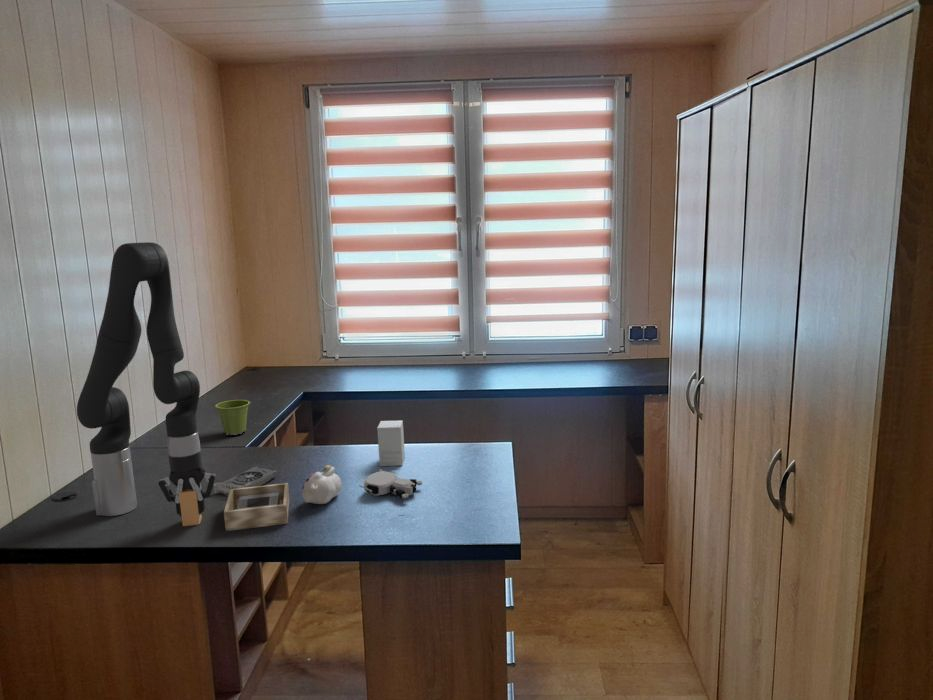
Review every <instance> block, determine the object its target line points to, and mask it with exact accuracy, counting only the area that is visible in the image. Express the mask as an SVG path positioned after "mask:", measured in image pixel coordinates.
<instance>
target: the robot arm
mask: <svg viewBox="0 0 933 700" xmlns="http://www.w3.org/2000/svg"><path fill="white" fill-rule="evenodd" d="M111 261H112V263H111V267H110V275H109V283H108V292H107V297H106V302H105V306H104V307H105V308H104V313H103V316H102V320H101V323H100V327H99V331H98V335H97V339H96V343H95V349H94V352H93V355H92V361H91V363H90V366H89V370H88V373H87V376H86V380H85V381H84V384H83V387H82V389H81V392H80V395H79V397H78V400H77V404H76V415H77V419H78V421H79V423H80V424H81V425H82V427H84V428H87V429H98V428H100V430H99V432H97V434H96V435H95V436H94V437H93V438H91V440H90V441H89V451H90V458H91V465H92V473H93V478H94V479H93V480H92V482H91V486H92V492H93V501H94V506H95V513H96V516H103V517H115V516H120V515H124V514H128V513H129V512H131V511H134V510H135V509H136V508H137V507H138V502H137V493H136V485H135V478H134V469H133V463H132V462H133V461H132V454H131V447H130V438H131V435H132V429H131V428H132V427H131V416H130V413H131V412H130V406H129V405H130V404H129V401H128V398H127V396H126V393H124V392H123V391H122V390H121V389H120V388H118V387H114V384H115V382H116V381H117V379H118V378H119V377H120V376H121V374H122V373H123V372H124V371H125V369H126V368H127V367H128V366H129V364H130V363H131V362H132V361H133V359H134V357H135V356H136V352H137V351H138V347H139V343H140V339H141V336H142V325H141V320H140V318H139V315H138V313H137V310H136V307H135V297H136V293H137V289H138V286H139V284H140V282H147V285H148V288H149V292H150V308H149V314H148V317H147V323H146V336H147V341H148V345H149V349H150V353H151V355H152V358H153V359H152V361H153V367H152V368H153V371H152V373H153V375H152V376H153V377H152V378H153V379H152V380H153V381H152V382H153V383H152V386H153V392H154V395H155V397H156V398H157V399H158V401H159V402H161V403H162V404H165V405H173V404H175V403H176V405H175V407H174V408H173V409H171V410H170V411H169V412H168V413H167V414H165V415H166V416H165V427H166V435H167V442H166V443H167V444H166V445H167V446H166V447H167V454H168V461H169V470H170V472H169V473H170V474H169V476H167V477H161V478H160V479H159V481H158V486H159V487H160V490H161V491H162V493H163V496H164V497H165V499H166V501H167V502H169V503H174V504H175V509H176V514H177V515H179V517H181V518H182V515H181V507H180V498H179V493H180V492H182V490H186V489H193V490H194V491H196V493H197V498H198V509H199V514H201V515H202V514H203V513H204V512H205V509H206V503H205V499H206V498H207V499H208V498H210V497H211V494H212V491H213V489H214V484H215V479H216V476H217V473H215V472H212V473H210V472H206V471H205V469H204V468H203V460H202V458H203V457H202V451H201V442H200V437H199V436H200V435H199V431H198V425H197V424H198V423H197V412H198V411H197V410H198V405H199V401H200V393H201V385H200V381H199V379H198V377H197V375H196V374H195V373H194V372H193V371H190V370H181V371H176V372H175V366H176V364H178V363H179V362H181V361H182V360H183V359H184V357H185V353H184V349H183V346H182V345H183V344H182V342H181V338H180V335H179V332H178V331H179V330H178V327H177V323H176V316H175V309H174V300H173V298H174V297H173V289H172V280H171V271H170V263H169V258H168V254H167V253H166V251H165V249H164V248H163V247H162V246H161V245H160V244H158V243H156V242H150V241H149V242H146V241H145V242H128V243H123V244H121V245H119V246H118V247H117V248H116V250H115V252H114V254H113V257H112V260H111ZM204 478H205V482H207V487H206V491H203V488H202V484H201V482H202V481H203V479H204ZM170 482H171V483H172V484H173V485H174V486H175V487H176V492H175V494H174V493H173V491H172V489H171V487H170V484H171V483H170Z"/></svg>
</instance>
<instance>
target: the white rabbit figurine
mask: <svg viewBox="0 0 933 700" xmlns="http://www.w3.org/2000/svg"><path fill="white" fill-rule="evenodd" d="M335 470H336V468H335V467H334V466H331V464H330V465H329V464H327V465H325V466H323V469H322V472H321V471H316V472H314V473H313V472H311V473H310V475H309V478H307V479H306V480H305V483H304V485H302V488H301V489H302V497H303V502H305V503H311V504H314V505H324V504H328V503H329V502H330V501H332V499H333V498H335V497H337V496H338V495H339V493H340V492H341V490H342V485H343V483H342V480H341V478H340V476H339V475H338V474H337V473H335Z"/></svg>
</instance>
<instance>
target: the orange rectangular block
mask: <svg viewBox="0 0 933 700" xmlns="http://www.w3.org/2000/svg"><path fill="white" fill-rule="evenodd" d="M179 498H180V507H181V515H182V516H181V524H182V527H189V526H197V525H200V523H201V521H202V519H203V516H202V514H199V509H198V498H197V493H196V491H194V490H193V489H186V490H182V492H180V493H179Z"/></svg>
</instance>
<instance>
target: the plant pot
mask: <svg viewBox="0 0 933 700" xmlns="http://www.w3.org/2000/svg"><path fill="white" fill-rule="evenodd" d="M250 404H251V401H249V400H247V399H233V400H226V401H222V402H218V403H217V404H215V407H214V408H216V409H217V412H218V414H219V418H220V420H221V425H222V429H223V432H225V433H226V434H233V433H239V432H242V431H244V430H246V431H247V422H248V421H247V418H248V411H249V405H250ZM225 433H224V434H225Z"/></svg>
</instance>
